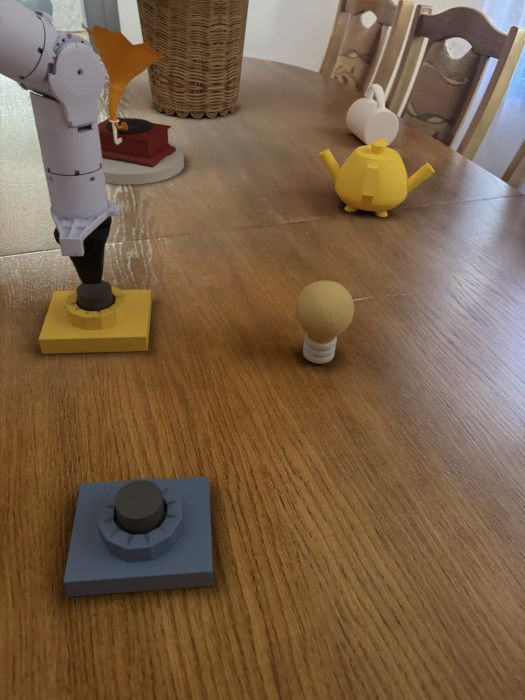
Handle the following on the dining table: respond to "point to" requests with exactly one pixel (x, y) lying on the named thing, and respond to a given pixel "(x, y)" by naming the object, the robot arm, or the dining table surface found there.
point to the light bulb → (323, 318)
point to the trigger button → (95, 296)
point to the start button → (139, 506)
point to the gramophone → (130, 133)
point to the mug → (372, 118)
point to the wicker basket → (195, 54)
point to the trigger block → (97, 324)
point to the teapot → (373, 178)
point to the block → (140, 541)
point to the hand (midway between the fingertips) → (92, 281)
